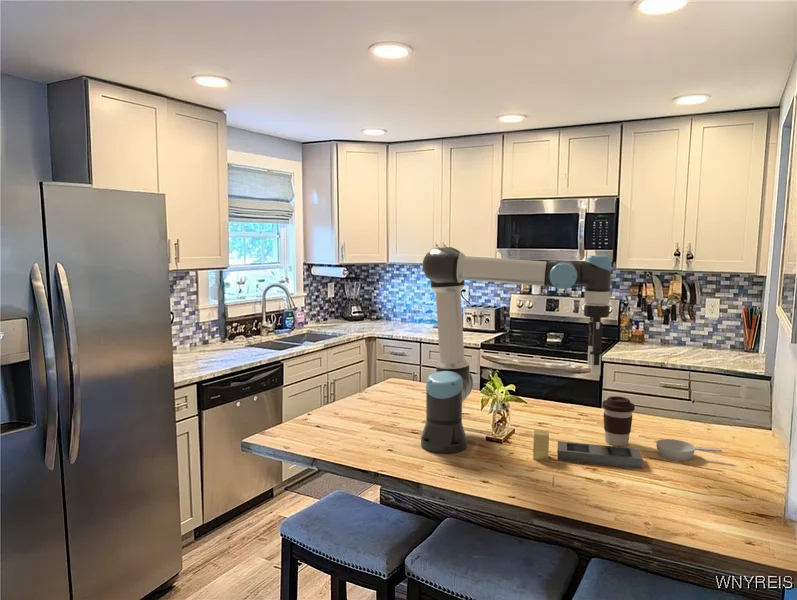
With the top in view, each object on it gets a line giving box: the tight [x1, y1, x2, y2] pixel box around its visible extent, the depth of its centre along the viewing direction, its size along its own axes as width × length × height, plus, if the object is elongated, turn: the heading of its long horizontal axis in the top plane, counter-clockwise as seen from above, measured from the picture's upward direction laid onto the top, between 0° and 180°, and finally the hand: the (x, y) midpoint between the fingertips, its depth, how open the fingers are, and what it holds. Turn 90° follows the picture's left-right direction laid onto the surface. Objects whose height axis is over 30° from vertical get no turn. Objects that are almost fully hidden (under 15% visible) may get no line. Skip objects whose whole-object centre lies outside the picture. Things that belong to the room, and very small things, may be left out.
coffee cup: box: [601, 395, 636, 447], centre depth 182 cm, size 10×10×15 cm
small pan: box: [656, 438, 722, 462], centre depth 171 cm, size 11×18×4 cm, turn 68°
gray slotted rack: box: [556, 440, 644, 470], centre depth 169 cm, size 24×8×3 cm, turn 74°
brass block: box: [532, 429, 550, 462], centre depth 170 cm, size 4×4×8 cm
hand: (593, 370), depth 176 cm, fingers open, 13 cm apart
